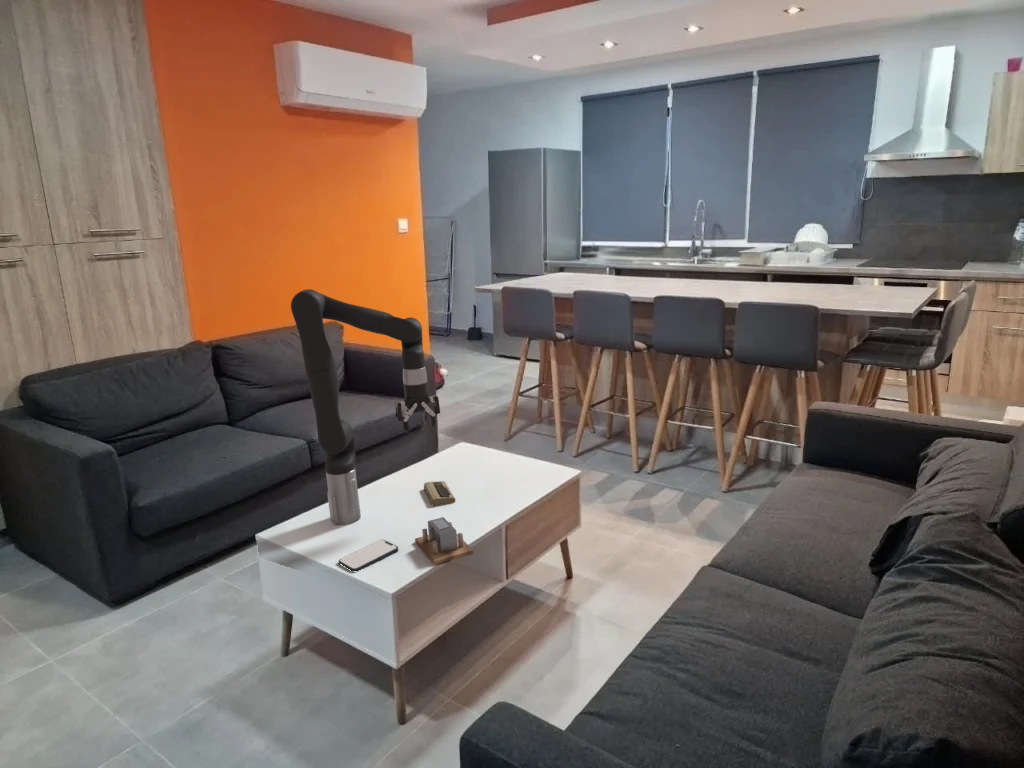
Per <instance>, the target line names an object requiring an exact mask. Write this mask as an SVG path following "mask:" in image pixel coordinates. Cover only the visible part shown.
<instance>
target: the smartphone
mask: <svg viewBox="0 0 1024 768" xmlns="http://www.w3.org/2000/svg"><path fill="white" fill-rule="evenodd" d="M398 552H399V546H398V545H396V544H394V543H391V542H389V541H388V540H385V539H379V540H377V541H375V542H373V543H371V544H369V545H367V546H364V547H363V548H362V547H361V549H359V550H356V551H355V552H353V553H350V554H347V555H346V556H344V557H342V558H340V559H339V560H338V564H339V563H340V564H342V565H343V566H345V567H346V568H348V569H350V570H351V571H358V572H360V571H361V569H362V570H363V569H366V568H368V567H371V566H372V565H374V564H376V563H377V562H378V563H379V562H380V561H382V560H384V559H386V558H388V557H390V556H392V555H394V554H396V553H398ZM346 568H345V569H346ZM348 569H347V570H348ZM350 570H349V571H350ZM359 570H360V571H359ZM351 571H350V572H351Z"/></svg>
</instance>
